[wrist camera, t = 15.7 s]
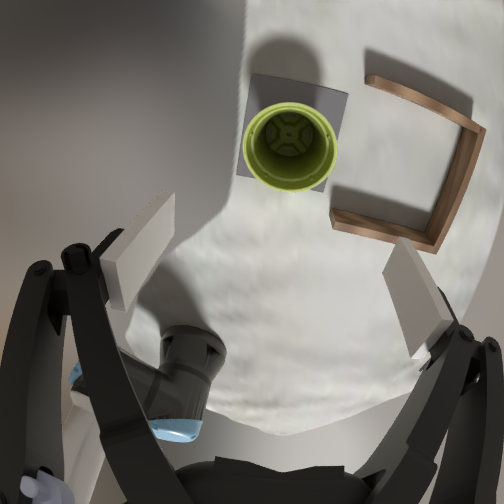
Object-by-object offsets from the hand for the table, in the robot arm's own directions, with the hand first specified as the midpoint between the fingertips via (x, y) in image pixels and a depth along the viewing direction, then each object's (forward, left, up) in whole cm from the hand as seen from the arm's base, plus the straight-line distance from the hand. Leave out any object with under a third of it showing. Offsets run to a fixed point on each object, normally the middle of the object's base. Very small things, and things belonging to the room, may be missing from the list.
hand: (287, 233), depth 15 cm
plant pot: (0, +2, -23) cm, 23 cm away
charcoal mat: (0, +2, -23) cm, 23 cm away
